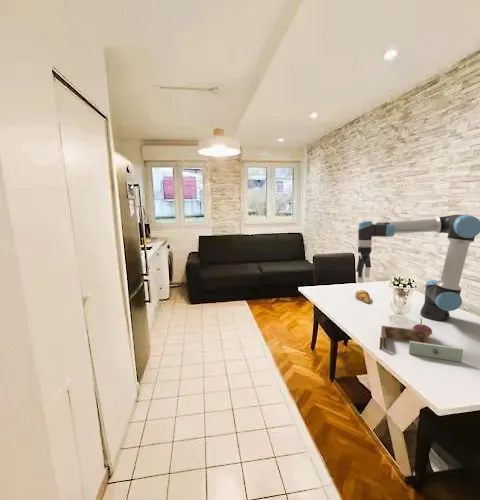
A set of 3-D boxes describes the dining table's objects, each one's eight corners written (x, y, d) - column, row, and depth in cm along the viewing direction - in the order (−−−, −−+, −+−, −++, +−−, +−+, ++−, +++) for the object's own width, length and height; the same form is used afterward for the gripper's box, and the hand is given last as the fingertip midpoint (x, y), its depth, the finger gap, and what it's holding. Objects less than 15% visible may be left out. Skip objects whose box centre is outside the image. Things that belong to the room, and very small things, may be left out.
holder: (425, 342, 139) (426, 331, 138) (432, 357, 125) (433, 345, 124) (377, 335, 148) (378, 325, 147) (379, 349, 134) (380, 338, 133)
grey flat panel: (461, 360, 122) (462, 348, 121) (463, 363, 119) (464, 351, 118) (408, 352, 130) (409, 340, 129) (409, 355, 127) (410, 343, 127)
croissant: (371, 308, 195) (377, 299, 194) (359, 302, 195) (365, 293, 193) (360, 298, 216) (365, 289, 214) (349, 292, 216) (354, 284, 214)
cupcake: (425, 343, 138) (427, 321, 136) (408, 336, 146) (410, 315, 144) (434, 339, 142) (436, 317, 140) (418, 332, 149) (419, 312, 147)
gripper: (364, 243, 176) (363, 274, 179) (351, 248, 157) (350, 283, 161) (376, 244, 171) (375, 276, 174) (364, 249, 152) (363, 285, 156)
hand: (363, 279), depth 167 cm, fingers open, 13 cm apart
